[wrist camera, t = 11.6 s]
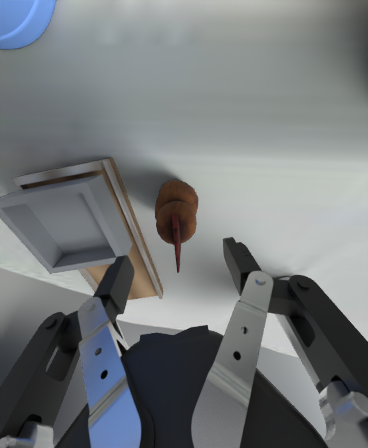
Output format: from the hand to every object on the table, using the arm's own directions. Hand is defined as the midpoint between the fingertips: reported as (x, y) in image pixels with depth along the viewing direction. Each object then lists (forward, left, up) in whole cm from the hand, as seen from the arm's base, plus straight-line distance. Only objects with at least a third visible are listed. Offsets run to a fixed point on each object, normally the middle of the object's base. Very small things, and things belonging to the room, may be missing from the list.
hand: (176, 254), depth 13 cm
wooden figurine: (0, 0, -15) cm, 15 cm away
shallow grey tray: (+15, 0, -14) cm, 20 cm away
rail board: (+15, +8, -15) cm, 23 cm away
